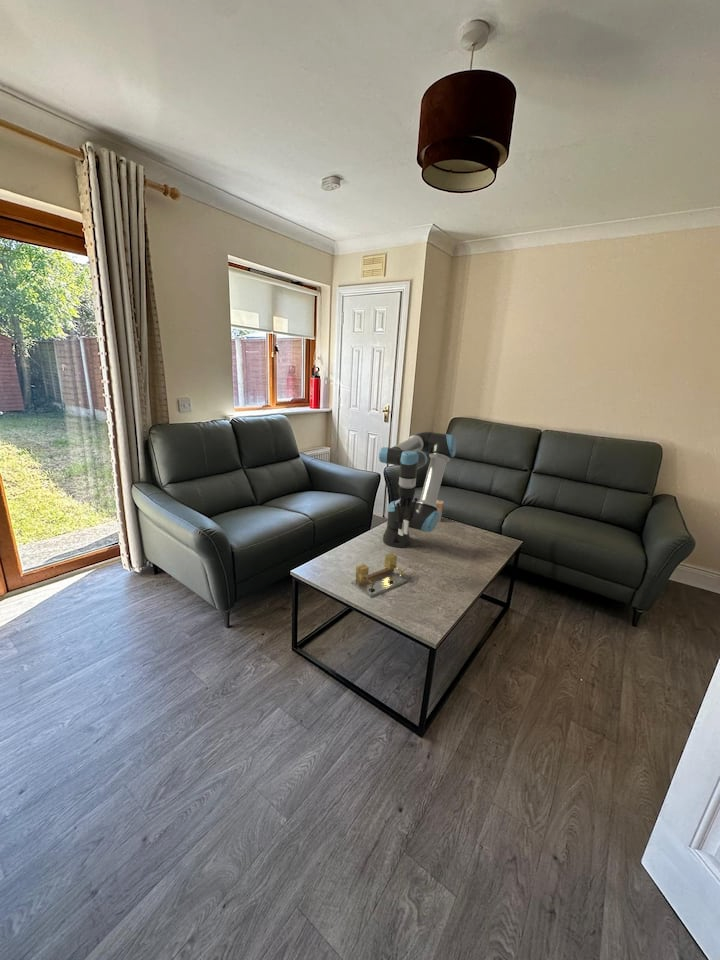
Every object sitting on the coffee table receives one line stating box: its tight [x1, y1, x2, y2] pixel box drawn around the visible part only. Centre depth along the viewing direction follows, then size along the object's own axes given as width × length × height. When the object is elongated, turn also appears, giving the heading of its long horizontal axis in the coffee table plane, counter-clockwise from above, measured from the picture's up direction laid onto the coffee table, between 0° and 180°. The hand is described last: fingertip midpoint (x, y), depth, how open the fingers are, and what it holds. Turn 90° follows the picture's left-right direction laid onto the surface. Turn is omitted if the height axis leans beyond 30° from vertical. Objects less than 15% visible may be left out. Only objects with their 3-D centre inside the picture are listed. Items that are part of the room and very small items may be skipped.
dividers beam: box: [355, 563, 395, 589], centre depth 172 cm, size 10×21×8 cm, turn 129°
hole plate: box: [351, 571, 407, 598], centre depth 173 cm, size 13×21×1 cm, turn 129°
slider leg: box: [384, 552, 404, 578], centre depth 177 cm, size 10×4×8 cm, turn 39°
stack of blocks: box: [436, 499, 445, 523], centre depth 248 cm, size 21×6×12 cm, turn 72°
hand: (402, 534), depth 180 cm, fingers open, 2 cm apart
